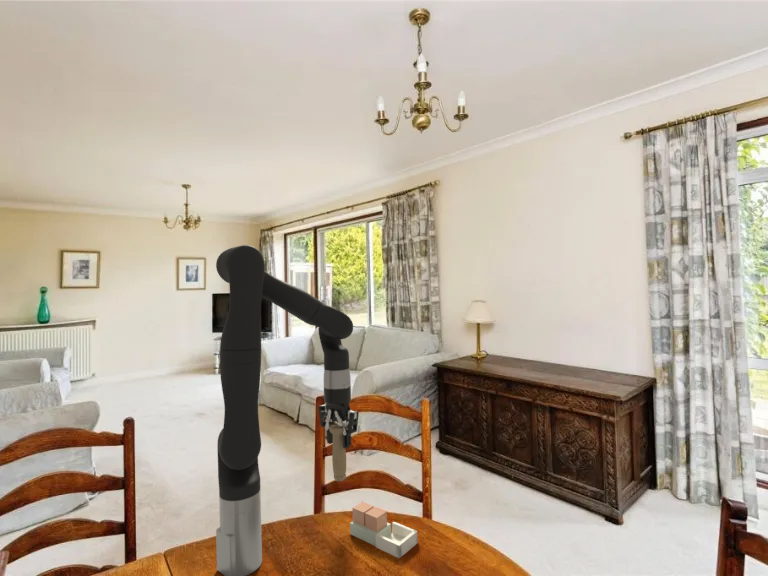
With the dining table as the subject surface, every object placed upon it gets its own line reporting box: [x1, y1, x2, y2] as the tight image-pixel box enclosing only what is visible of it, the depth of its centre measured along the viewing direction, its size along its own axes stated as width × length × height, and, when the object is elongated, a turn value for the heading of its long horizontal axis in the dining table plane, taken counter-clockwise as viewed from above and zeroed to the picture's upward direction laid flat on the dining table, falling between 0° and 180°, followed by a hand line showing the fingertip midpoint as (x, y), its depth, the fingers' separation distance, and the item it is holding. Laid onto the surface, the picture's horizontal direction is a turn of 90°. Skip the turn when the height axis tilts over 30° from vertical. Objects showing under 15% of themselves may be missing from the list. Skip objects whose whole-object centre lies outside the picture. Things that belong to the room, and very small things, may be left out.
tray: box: [375, 521, 418, 559], centre depth 104 cm, size 8×7×3 cm
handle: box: [329, 421, 347, 482], centre depth 116 cm, size 5×6×15 cm
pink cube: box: [352, 501, 375, 526], centre depth 110 cm, size 4×4×4 cm
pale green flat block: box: [349, 520, 392, 547], centre depth 109 cm, size 6×9×3 cm, turn 51°
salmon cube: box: [365, 506, 388, 532], centre depth 107 cm, size 4×4×4 cm
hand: (338, 445), depth 116 cm, fingers closed on handle, 5 cm apart
